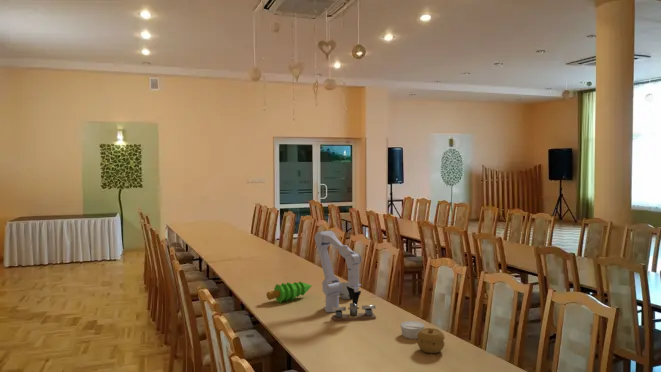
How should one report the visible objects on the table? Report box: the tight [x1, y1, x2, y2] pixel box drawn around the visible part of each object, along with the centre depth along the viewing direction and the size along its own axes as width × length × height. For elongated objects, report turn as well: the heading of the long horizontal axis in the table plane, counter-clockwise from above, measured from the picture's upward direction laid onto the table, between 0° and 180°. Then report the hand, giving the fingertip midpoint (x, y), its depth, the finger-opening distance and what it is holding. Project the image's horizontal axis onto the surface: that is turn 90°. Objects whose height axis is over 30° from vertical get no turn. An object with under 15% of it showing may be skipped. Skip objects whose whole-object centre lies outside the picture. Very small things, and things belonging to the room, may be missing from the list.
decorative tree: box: [265, 281, 313, 304], centre depth 289 cm, size 11×12×30 cm
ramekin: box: [400, 320, 425, 340], centre depth 229 cm, size 11×11×5 cm
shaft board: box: [331, 311, 377, 322], centre depth 255 cm, size 7×22×1 cm, turn 99°
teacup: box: [339, 281, 360, 300], centre depth 292 cm, size 15×12×8 cm
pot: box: [416, 327, 446, 354], centre depth 210 cm, size 12×12×10 cm
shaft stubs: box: [332, 304, 376, 318], centre depth 255 cm, size 4×23×5 cm, turn 99°
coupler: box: [347, 302, 360, 316], centre depth 255 cm, size 4×6×6 cm, turn 103°
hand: (353, 301), depth 255 cm, fingers open, 7 cm apart
